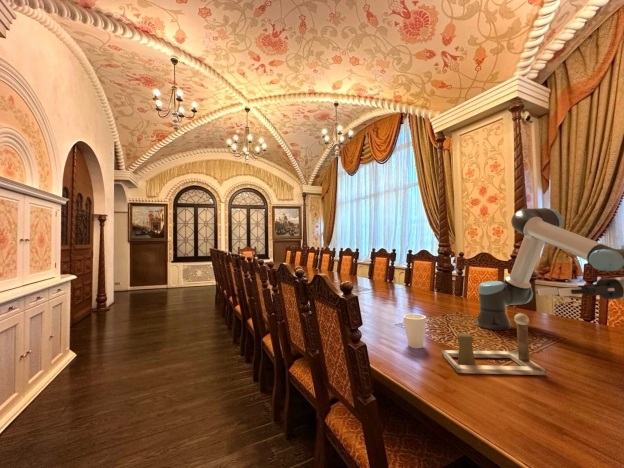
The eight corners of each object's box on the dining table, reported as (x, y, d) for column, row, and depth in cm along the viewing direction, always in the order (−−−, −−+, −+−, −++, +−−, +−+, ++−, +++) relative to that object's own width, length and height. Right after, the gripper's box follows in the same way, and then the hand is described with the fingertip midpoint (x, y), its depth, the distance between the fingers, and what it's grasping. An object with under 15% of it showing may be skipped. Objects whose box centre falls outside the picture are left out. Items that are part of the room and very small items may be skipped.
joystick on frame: (517, 355, 111) (514, 308, 112) (547, 375, 94) (543, 319, 95) (441, 353, 115) (439, 308, 115) (457, 372, 98) (455, 319, 98)
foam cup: (427, 343, 128) (426, 314, 128) (426, 350, 119) (425, 319, 120) (406, 341, 132) (404, 313, 132) (403, 348, 123) (402, 318, 124)
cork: (454, 361, 108) (452, 332, 109) (469, 360, 109) (467, 331, 109) (464, 367, 102) (462, 337, 103) (479, 366, 103) (478, 336, 103)
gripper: (651, 300, 88) (572, 304, 93) (593, 298, 112) (533, 301, 117) (643, 276, 90) (567, 281, 95) (588, 279, 114) (529, 283, 118)
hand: (548, 292), depth 106 cm, fingers open, 13 cm apart
